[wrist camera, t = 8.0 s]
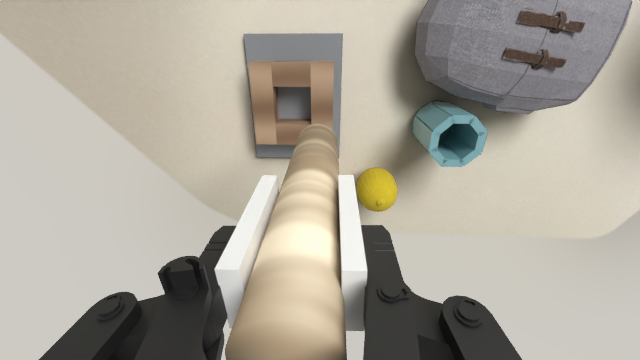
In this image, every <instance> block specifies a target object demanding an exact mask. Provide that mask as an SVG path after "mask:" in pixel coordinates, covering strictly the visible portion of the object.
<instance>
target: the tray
mask: <svg viewBox="0 0 640 360" xmlns="http://www.w3.org/2000/svg"><path fill="white" fill-rule="evenodd" d="M342 41H343V34H244V42H245V51H246V60H247V70H248V79H249V88H250V98H251V107H252V116H253V106H252V97H251V87H250V78H249V68H248V62H251V61H334V83H333V132H334V133H335V135H336V137H337V141H338V158H339V142H340V108H341V75H342ZM277 89H278V104H279V119H311V87H277ZM253 125H254V116H253ZM254 135H255V144H256V134H255V125H254ZM295 146H296V145H276V144H256V153H257V157H290V158H292V155H293V152H294V149H295Z"/></svg>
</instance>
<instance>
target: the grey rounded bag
mask: <svg viewBox="0 0 640 360" xmlns="http://www.w3.org/2000/svg"><path fill="white" fill-rule="evenodd" d="M631 5H632V1H631V0H428V2H427V4H426V6H425V8H424V10H423V12H422V14H421V16H420V18H419V20H418V22H417V31H416V44H415V57H416V59H417V61H418V64H419V66H420V69H421V71H422V73H423V76H424V78H425V81H426V82H431V83H433V84H435V85H436V86H438V87H440V88H441V89H443V90H445V91H447V92H448V93H450V94H452V95H453V96H458V97H462V98H466V99H471V100H475V101H479V102H483V105H484V107H486V108H489V109H492V110H495V111H498V110H499V112H502V111H507V112H515V113H523V114H530V113H531V112H533V111H536V110H541V109H546V108H551V107H557V106H562V105H567V104H570V103H572V102H574V101H576V100H578V98H579V97H580V96H581V95H582V94H583V93H584V92H585V91H586V89H587V88H588V87H589V86H590V85H591V84H592V83H593V81H594V79H595V78H596V76H597V75H598V73H599V72H600V70H601V69H602V67H603V66H604V64H605V63H606V61H607V60H608V58H609V57H610V55H611V53H612V51H613V49H614V47H615V45H616V43H617V41H618V39H619V37H620V35H621V33H622V31H623V29H624V27H625V25H626V22H627V18H628V15H629V11H630V8H631ZM504 113H505V112H504Z"/></svg>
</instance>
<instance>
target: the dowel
mask: <svg viewBox="0 0 640 360" xmlns="http://www.w3.org/2000/svg"><path fill="white" fill-rule="evenodd" d="M338 175H339V163H338V141H337V137H336V135H335V133H334V132H333V131H332V130H331V129H330V128H329V127H327V126H325V125H322V124H313V125H310V126H308V127H306V128H305V129H304V130H303V131H302V132H301V133H300V135H299V138H298V140H297V143H296V146H295V149H294V152H293V155H292V158H291V161H290V163H289V166H288V169H287V172H286V175H285V178H284V181H283V184H282V186H281V189H280V192H279V195H278V198H277V201H276V204H275V206H274V209H273V212H272V215H271V218H270V221H269V224H268V227H267V229H266V232H265V235H264V238H263V241H262V244H261V247H260V250H259V252H258V255H257V258H256V261H255V264H254V267H253V270H252V272H251V275H250V278H249V281H248V284H247V287H246V290H245V293H244V295H243V298H242V301H241V304H240V307H239V310H238V313H237V316H236V318H235V321H234V324H233V327H232V330H231V333H230V336H229V338H228V341H227V344H226V348H225V355H226V360H347V354H346V330H345V306H344V297H343V294H342V287H341V257H340V226H339V195H338Z"/></svg>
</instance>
